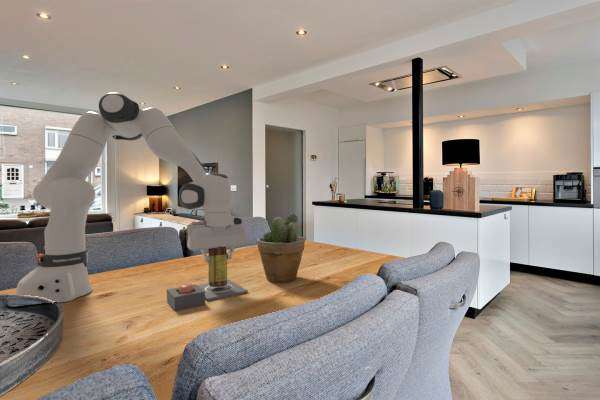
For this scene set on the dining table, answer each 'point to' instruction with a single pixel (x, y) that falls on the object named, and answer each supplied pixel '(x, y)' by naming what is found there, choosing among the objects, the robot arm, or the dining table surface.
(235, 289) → the grey square plate
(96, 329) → the dining table surface
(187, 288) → the button
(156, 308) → the dining table surface
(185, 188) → the robot arm
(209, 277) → the sauce bottle
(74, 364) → the dining table surface
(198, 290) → the button housing
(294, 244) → the potted plant
